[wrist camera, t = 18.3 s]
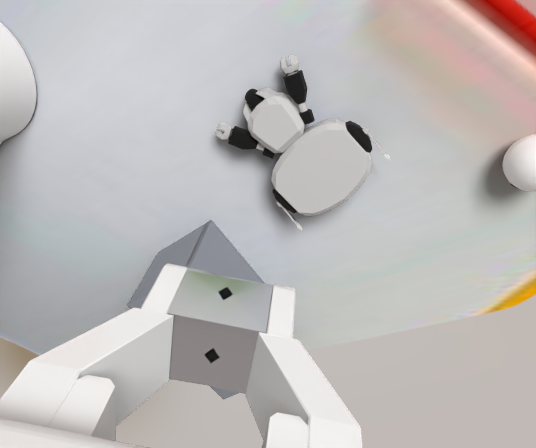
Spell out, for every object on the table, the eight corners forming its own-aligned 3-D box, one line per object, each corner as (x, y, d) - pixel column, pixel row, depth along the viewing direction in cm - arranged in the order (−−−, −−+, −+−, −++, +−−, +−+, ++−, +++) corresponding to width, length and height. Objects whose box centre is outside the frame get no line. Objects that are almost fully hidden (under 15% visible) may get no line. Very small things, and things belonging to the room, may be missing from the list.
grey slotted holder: (237, 337, 61) (223, 399, 52) (158, 252, 55) (126, 305, 46) (289, 313, 58) (284, 374, 49) (211, 220, 52) (189, 270, 43)
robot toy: (214, 126, 47) (306, 219, 51) (202, 137, 43) (303, 237, 47) (295, 42, 42) (391, 151, 46) (290, 45, 38) (396, 165, 42)
